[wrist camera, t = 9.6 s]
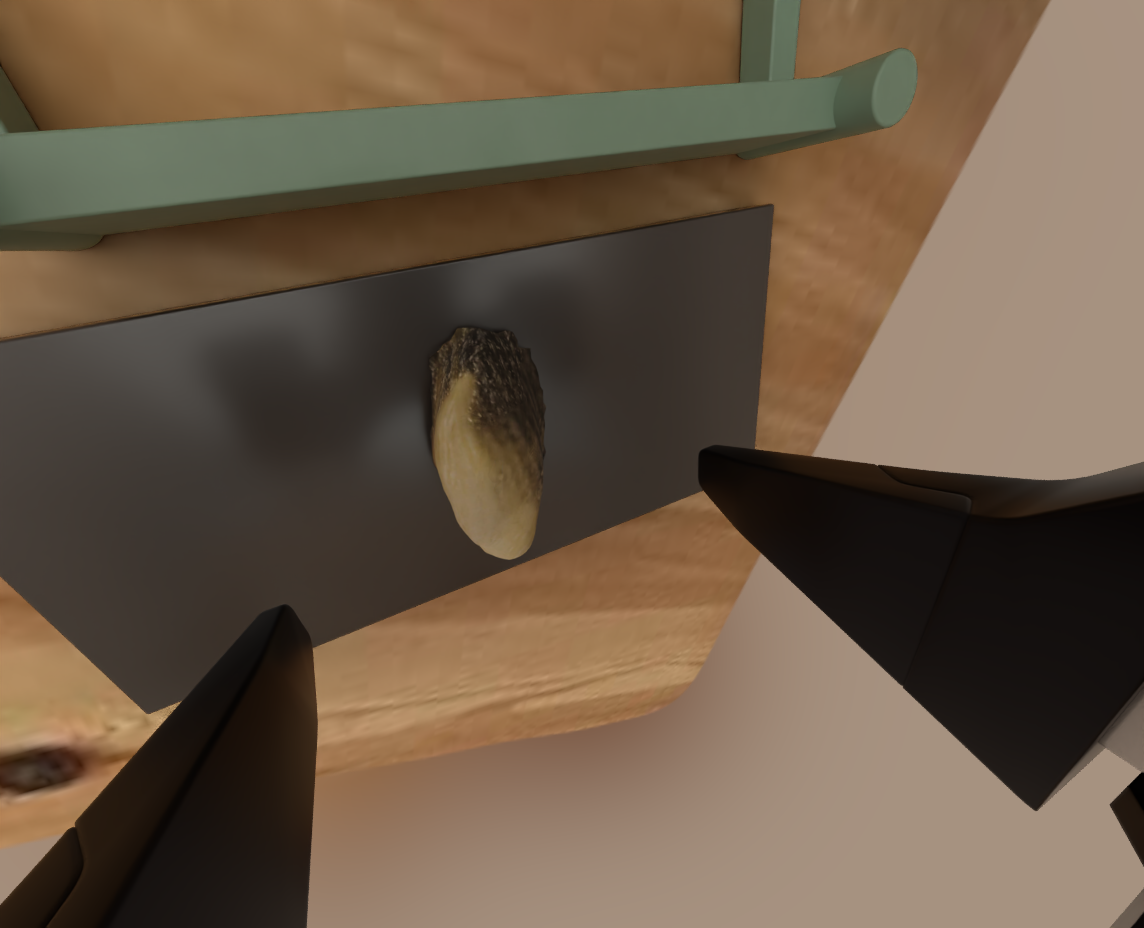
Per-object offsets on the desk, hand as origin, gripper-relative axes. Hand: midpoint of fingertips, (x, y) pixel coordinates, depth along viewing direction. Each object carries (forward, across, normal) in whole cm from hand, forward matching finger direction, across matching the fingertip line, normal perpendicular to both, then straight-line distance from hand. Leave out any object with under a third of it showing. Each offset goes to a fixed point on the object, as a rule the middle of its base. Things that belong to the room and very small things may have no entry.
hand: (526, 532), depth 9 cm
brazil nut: (+5, 0, 0) cm, 5 cm away
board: (+6, 0, 0) cm, 6 cm away
